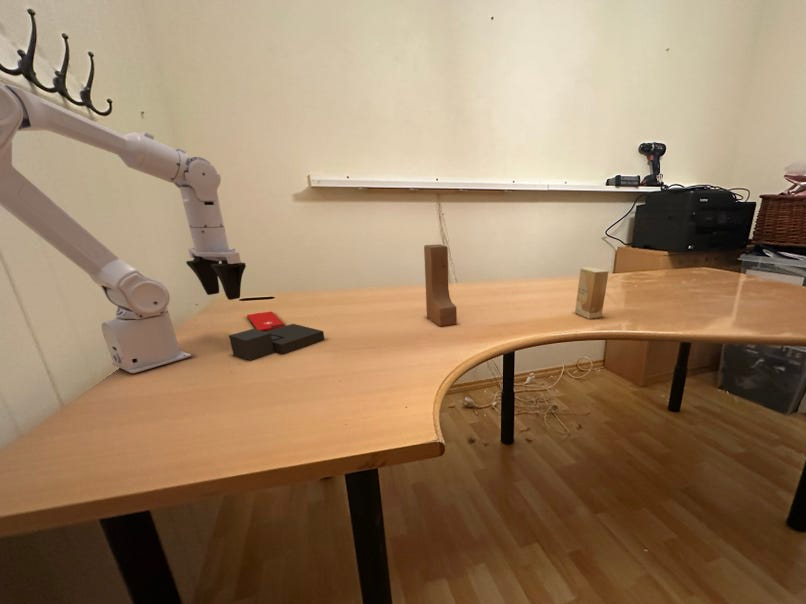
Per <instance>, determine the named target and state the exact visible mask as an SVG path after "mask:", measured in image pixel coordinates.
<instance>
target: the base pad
mask: <svg viewBox="0 0 806 604" xmlns="http://www.w3.org/2000/svg"><path fill="white" fill-rule="evenodd" d="M264 332H268V333H271V336H277V337H280V338H281V339H278V340H275V341H272V342H273V347H274V353H278V354H281V355H284V354H287V353H291V352H293V351H296V350H299V349H302V348H305V347H309V346H312V345H313V344H316V343H319V342H322V341H324V340H325V333H324V330H321V329H316V328H313V327H309V326H305V325H302V324H301V325H300V324H297V323H290V324H287V325H285V326H283V327H280V328H276V329H273V330H267V331H264Z"/></svg>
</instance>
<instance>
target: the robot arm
mask: <svg viewBox="0 0 806 604" xmlns="http://www.w3.org/2000/svg"><path fill="white" fill-rule="evenodd" d="M30 131H31V132H32V131H35V132H36V131H37V132H38V131H39V132H40V131H47V132H51V133H53V134H58V135H60V136H62V137H66V138H69V139H71V140H74V141H77V142H79V143H82V144H86V145H88V146H91V147H94V148H97V149H99V150H102V151H106V152H109V153H111V154H114V155H117V157H119V158H120V159H121V161H122V162H123V164H124V165H125V166H126V167H128V168H130V169H132V170H135V171H138V172H141V173H142V174H143V173H144V174H147V175H148V176H152V177H154V178H157V179H160V180H163V181H164V182H165V181H166V182H168V183H171V184H174V185H175V187H176V188H178V189H179V191H180V195H181V200H182V204H183V207H184V211H185V216H186V219H187V224H188V228H189V232H190V236H191V240H192V243H193V247H188V248H187V249H188V253H189V257H190V258H191V259H192V260H187V261H185V262H186V265H187V266H188V267H189V268H190V270H191V271H193V273H194V274H195V276H196V277H197V279H198V280H199V282H200V284H201V286H202V288H203V290H204V292H205V293H206V295H208V296H211V295H217V294H220V284H221V286H222V289H223V292H224V295H225V297H226V298H227V300H229V301H231V300H236V299H240V298H241V287H242V278H243V274H244V271H245V269H246V267H247V265H246V263H245V262H242V260H241V257H240V252H239V251H238V252H237V251H236V248H233V247H229V241H228V237H227V232H226V227H225V223H224V218H223V214H222V210H221V205H220V200H219V196H218V188H219V187H220V185H221V180H222V179H221V174H219V173H218V172H217V170H216V168H215V166H214V165H212V163H211V162H210V161H209V160H207V159H206V158H203V157H200V156H188V154H187V150H185V149H183V148H181V147H178V148H174V147H171V146H169V145H167V144H165V143H163V142H160V141H158V140H155V136H154V135H153V134H150V133H149V132H147V131H143V132H140V133H139V132H137V131H132V132H129V133H126V134H122V133H119V132H117V131H115V130H114V129H111V128H109V127H106V126H104V125H103V124H100V123H97V122H95V121H93V120H91V119H90V118H89V119H88V118H86V117H84V116H82V115H80V114H78V113H76V112H73V111H71V110H69V109H66V108H64V107H62V106H60V105H58V104H56V103H54V102H51V101H49V100H47V99H45V98H42V97H40V96H38V95H36V94H34V93H32V92H29V91H27V90H25V89H23V88H21V87H17V86H15V85H12V84H8V83H5V84H2V83H1V82H0V207H2V208H3V209H4V210H6V211H7V212H8V213H10V215H12V216H13V217H14V218H16V219H17V220H18V221H20V222H21V223H22V224H24V225H25V226H26V227H27V228H29V229H30V230H31V231H32V232H33V233H35V234H37V235H38V236H39V237H40V238H41V239H43V240H44V241H45V242H46V243H48V244H49V245H50V246H52V247H53V248H54V249H56V250H57V251H58V252H59V253H61V254H62V255H63V256H65V257H66V258H67V259H68V260H69V261H71V263H73V264H75V265H76V266H77V267H79V268H80V269H81V270H83V272H85V273H86V274H87V275H88V276H89V278H90V279H91V280H92V281H93V282H94V283H95V284H96V285H97V286H99V287H100V288H101V290H102V291H103V293H104V295H105V297H106V299H107V300H108V301H109V302H110V303H111V304H113V305H115V306H116V307H117V308H116V312H115V316H116V317H115V318H113V319H110V320H106V321H103V322H102V323H101V331H102V334H103V338H104V341H105V344H106V346H107V348H108V352H109V354H110V358H111V361H112V362H111V363H112V365H113V366H114V367H117V368H119V369H122V370H123V371H126V372H128V373H129V374H136V373H140V372H143V371H147V370H151V369H153V368H157V367H160V366H164V365H167V364H171V363H174V362H177V361H181V360H185V359H187V358H191V357H192V354H191V353H189V352H186V351H184V350H180V347H179V342H178V338H177V336H176V333H175V329H174V326H173V323H172V322H173V321H172V319H171V315H170V311H169V309H168V306H169V303H170V300H171V299H170V292H169V290H168V289H167V287H166V286H165V285H164V284H163V283H162V282H161V281H158V280H156V279H153V278H150V277H147V276H146V275H144V274H143V273H141V272H140V271H139V270H138V269H137V268H135V267H134V266H132V265H130V264H129V263H127V262H126V261H124V260H122V259H121V258H119V257H118V256H117V254H115V253H114V252H113V251H111V250H110V249H109V248H108V246H106V245H105V244H103V243H102V242H101V241H100V240H99V239H97V237H95V236H94V235H93V234H92V233H91V232H89V231H88V230H87V229H86V228H85V227H84V226H82V224H80V223H79V222H77V220H76V219H74V218H73V217H72V216H71V215H70V214H68V213H67V211H65V210H64V209H63V208H62V207H61V206H60V205H58V204H57V203H56V202H55V201H54V200H53V199H51V198H50V197H49V196H48V195H46V194H45V193H44V192H43V191H42V190H41V189H40V188H38V187H37V186H36V185H35V184H34V183H33V182H31V180H29V179H28V178H26V176H24V175H23V173H21V172H20V171H19V170H17V169H16V168H15V167H14V165H13V139H14V137H15V135H16V134H17V132H30ZM219 281H220V283H219Z"/></svg>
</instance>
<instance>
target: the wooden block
mask: <svg viewBox="0 0 806 604" xmlns="http://www.w3.org/2000/svg"><path fill="white" fill-rule="evenodd" d="M448 250H449V248H448V246H447V245H443V244H425V245H424V246H423V254H424V256H423V257H424V277H425V280H424V281H425V304H426V317H427V318H428V319H429V320H431V321H432V322H434V323H435V324H437V325H438V326H439V327H444V326H451V325H453V326H454V325H457V320H458V319H457V316H458V315H457V306H456V305H455V303H453V302H452V298H451V296H450V290H449V253H448V252H449V251H448Z"/></svg>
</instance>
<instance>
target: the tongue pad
mask: <svg viewBox="0 0 806 604" xmlns="http://www.w3.org/2000/svg"><path fill="white" fill-rule="evenodd" d="M228 338H229V342H230V346H231V351H232V354H233V356H236V357H239V358H242V359H244V360H248V361H252V360H256V359H258V358H262V357H265V356H269V355H270V354H274V353H275V351H274V347H273V342H272V341H275V340H278V339H281V338H280V337H277V336H271V333H268V332H265V331H260V330H257V329H256V328H251V329H247V330H243V331H240V332H237V333H232V334H229V335H228Z"/></svg>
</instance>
